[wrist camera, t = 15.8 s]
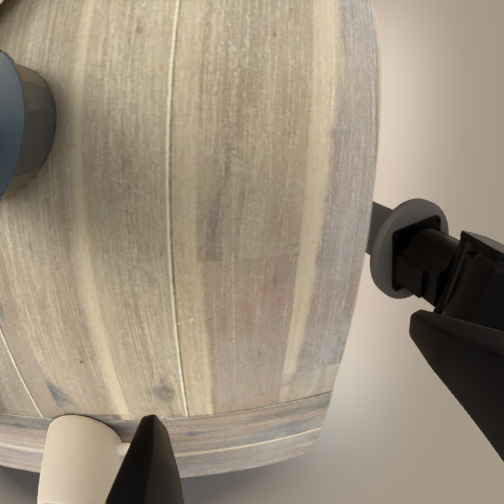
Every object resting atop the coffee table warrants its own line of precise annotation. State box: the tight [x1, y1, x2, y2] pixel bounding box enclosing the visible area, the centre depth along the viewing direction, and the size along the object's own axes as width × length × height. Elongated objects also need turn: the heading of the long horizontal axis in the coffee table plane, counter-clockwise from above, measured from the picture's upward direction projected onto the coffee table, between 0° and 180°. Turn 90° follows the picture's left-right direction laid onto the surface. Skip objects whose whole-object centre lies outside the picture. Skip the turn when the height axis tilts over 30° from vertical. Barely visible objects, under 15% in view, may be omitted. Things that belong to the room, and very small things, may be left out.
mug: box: [37, 415, 131, 504], centre depth 20 cm, size 12×8×10 cm
